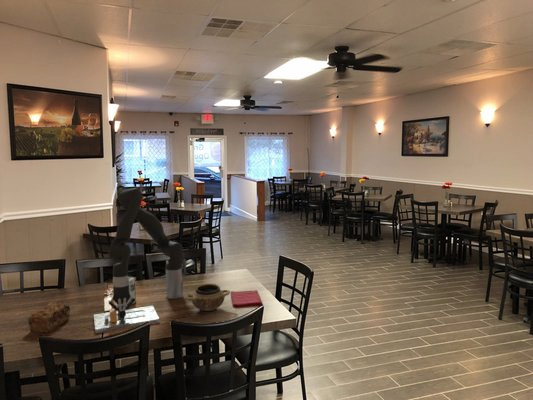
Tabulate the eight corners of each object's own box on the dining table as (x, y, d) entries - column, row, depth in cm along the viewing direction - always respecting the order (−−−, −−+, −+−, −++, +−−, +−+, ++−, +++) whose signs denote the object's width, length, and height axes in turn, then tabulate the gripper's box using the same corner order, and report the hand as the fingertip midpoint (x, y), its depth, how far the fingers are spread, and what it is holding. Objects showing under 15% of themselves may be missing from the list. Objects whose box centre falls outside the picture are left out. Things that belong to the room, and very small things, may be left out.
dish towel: (232, 308, 226) (232, 304, 226) (230, 294, 249) (229, 290, 249) (263, 306, 228) (263, 302, 228) (257, 292, 252) (257, 288, 251)
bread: (52, 317, 214) (51, 299, 213) (71, 318, 213) (70, 300, 211) (27, 332, 196) (26, 312, 194) (48, 334, 194) (47, 313, 193)
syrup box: (131, 305, 230) (130, 280, 229) (121, 304, 231) (120, 279, 230) (136, 301, 236) (135, 277, 234) (127, 301, 237) (125, 276, 235)
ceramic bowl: (186, 322, 213) (186, 298, 208) (183, 302, 229) (183, 279, 224) (232, 317, 220) (233, 293, 214) (226, 298, 235) (227, 276, 230)
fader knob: (116, 317, 207) (115, 308, 206) (116, 321, 202) (116, 311, 202) (109, 318, 205) (109, 308, 205) (110, 322, 201) (110, 312, 200)
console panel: (152, 309, 225) (152, 296, 224) (159, 322, 206) (158, 308, 206) (94, 318, 212) (93, 304, 211) (95, 333, 194) (94, 318, 193)
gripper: (134, 280, 210) (135, 312, 211) (106, 283, 204) (108, 317, 206) (135, 284, 203) (137, 318, 205) (107, 288, 197) (109, 322, 199)
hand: (122, 317), depth 205 cm, fingers closed
